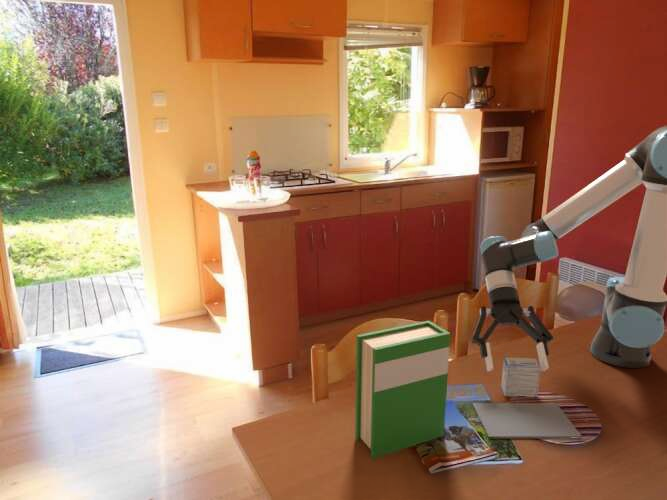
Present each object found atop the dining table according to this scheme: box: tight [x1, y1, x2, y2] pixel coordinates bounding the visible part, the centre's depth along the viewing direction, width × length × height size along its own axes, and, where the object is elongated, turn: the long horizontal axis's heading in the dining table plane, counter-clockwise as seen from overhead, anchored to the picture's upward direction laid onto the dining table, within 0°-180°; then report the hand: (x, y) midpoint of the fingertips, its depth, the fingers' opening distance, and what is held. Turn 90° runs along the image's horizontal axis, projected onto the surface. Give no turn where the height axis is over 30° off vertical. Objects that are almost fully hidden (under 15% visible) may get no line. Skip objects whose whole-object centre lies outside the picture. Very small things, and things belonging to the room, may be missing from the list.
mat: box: [472, 402, 583, 439], centre depth 118 cm, size 20×13×1 cm, turn 90°
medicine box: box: [500, 357, 541, 398], centre depth 128 cm, size 8×4×9 cm, turn 84°
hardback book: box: [354, 320, 451, 460], centre depth 109 cm, size 18×7×24 cm, turn 116°
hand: (517, 369), depth 128 cm, fingers open, 13 cm apart
